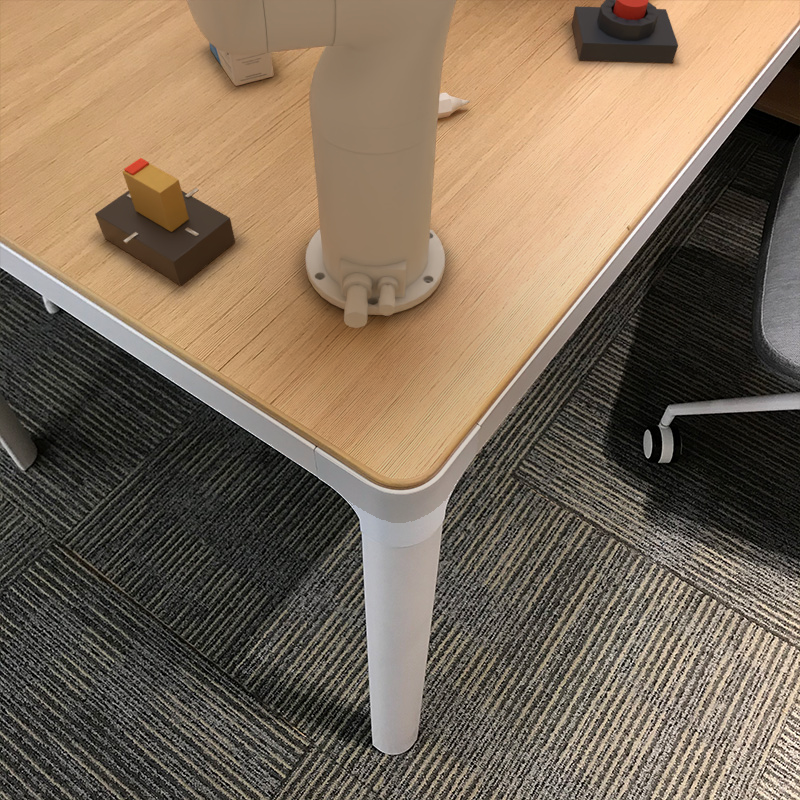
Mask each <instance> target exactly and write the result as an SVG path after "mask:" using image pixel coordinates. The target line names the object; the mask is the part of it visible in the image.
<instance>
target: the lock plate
mask: <svg viewBox="0 0 800 800" xmlns="http://www.w3.org/2000/svg"><path fill="white" fill-rule="evenodd" d="M181 191H182V194H183V198H184V202H185V206H186V209H187V213H188V217H189V219H188V220H187V221H186V222H184V223H183V224H182V225H180V226H179V227H178V228H176V229H175V230H174V231H172V232H170V231H169V230H167V229H165V228H164V227H162V226H160V225H159V224H157V223H155V222H154V221H152V220H150V219H148V218H147V217H145V216H143V215H142V214H140V213H138V212H137V211H136V210H135V207H134V204H133V202H132V199H131V196H130V193H129V190H127V191H126V192H124V193H123V194H121V195H120V196H118V197H116V198H115V199H114V200H113V201H111V202H110V203H108V204H107V205H105V206H104V207H102V208H101V209H100V210H98V211H97V212H95V213H94V215H95V218H96V220H97V223H98V225H99V227H100V231H101V233H102V236H103V238H104V239H105V240H106V241H108V242H109V243H111V244H113V245H114V246H116V247H118V248H119V249H120V250H123V251H124V252H125V253H127V254H129V255H130V256H132V257H134V258H135V259H137V260H138V261H140V262H141V263H143V264H145V265H146V266H148V267H150V268H151V269H153V270H155V272H158V273H159V274H161V275H163V276H164V277H166V278H168V279H169V280H171V281H172V282H174V283H176V284H177V285H178V286H181V287H182V286H183V285H184V284H186V283H187V282H188V281H189V280H191V279H192V278H193V277H194V276H196V275H197V274H198V273H199V272H201V270H204V268H205V267H207V266H208V265H209V264H210V263H211V262H213V261H215V259H217V258H218V257H219V256H220V255H221V254H223V253H224V252H225V251H226V250H228V249H230V247H232V246H233V245H234V244H235V243H236V239H235V235H234V228H233V224H232V220H231V217H230V216H228V215H226V214H224V213H223V212H221V211H219V210H217V209H216V208H213V207H212V206H210V205H208V204H207V203H205V202H203V201H201V200H200V199H198V198H196V197H194V195H195V194H197V193H198V192H199V191H200V190H199V188H197V187H195V188H194V189H192V190H191V191H189V192H188V193H187V192H185V191H183V190H182V189H181Z"/></svg>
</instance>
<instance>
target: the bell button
mask: <svg viewBox="0 0 800 800" xmlns="http://www.w3.org/2000/svg"><path fill="white" fill-rule="evenodd" d="M648 2H650V1H649V0H616V2H615V6H614V10H613V13H614V14H615V15H616V16H618V17H620V18H623V19H627V20H639V19H642V18H644V15H645V12H646V8H647V5H648Z"/></svg>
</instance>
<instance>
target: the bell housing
mask: <svg viewBox="0 0 800 800" xmlns="http://www.w3.org/2000/svg"><path fill="white" fill-rule="evenodd" d="M615 2H616V0H604V1H603V3H601V4H600V6H579V5H578V6H575V7H574V12H573V14H572V19H571V27H572V33H573V37H574V42H575V47H576V53H577V57H578V61H584V62H585V61H587V62H588V61H589V62H590V61H591V62H618V63H619V62H621V63H623V62H624V63H653V64H673V62H674V60H675V57H676V54H677V50H678V47H679V43H678V41H677V40H678V39H677V38H676V34H675V31H674V28H673V25H672V23H671V20H670V18H669V17H670V16H669V14H668V11H667V9H666V8H657V7H656V5H654V4H652V3H651V2H650V1H648V5H647V8H646V12H645V15H644V18H642V19H639V20H627V19H623V18H620V17H618V16H616V15H615V14H614V13H613V10H614V6H615Z"/></svg>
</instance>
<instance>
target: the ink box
mask: <svg viewBox="0 0 800 800" xmlns="http://www.w3.org/2000/svg"><path fill="white" fill-rule="evenodd" d="M208 43H209V49H210V51H211V53H212V54H213V56H214V57H215V59H216V60H217V62H218V63H219V64H220V66H221V68H222V69H223V70H224V72H225V74H226V75H227V77H228V78H229V80H230V81H231V82H232V84H233V85H234V86H235V87H238V86H242V85H245V84H248V83H254V82H258V81H260V80H261V81H262V80H265V79H268V78H273V77H274V67H273V58H272V57H273V56H272V53H262V54H251V55H235V54H230V53H226V52H223V51H221V50H219V49H218V48H216V47H214V46H213V45H212V44H211V43H210V42H209V41H208Z"/></svg>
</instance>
